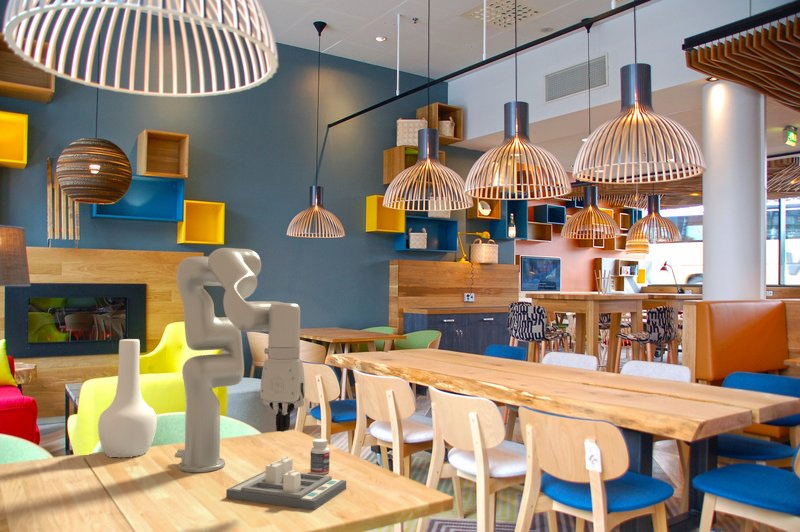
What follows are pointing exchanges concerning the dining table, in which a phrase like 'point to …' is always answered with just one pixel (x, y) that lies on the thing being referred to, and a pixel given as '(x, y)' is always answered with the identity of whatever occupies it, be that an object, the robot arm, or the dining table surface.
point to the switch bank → (310, 496)
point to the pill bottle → (320, 457)
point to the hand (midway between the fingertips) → (282, 430)
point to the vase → (127, 409)
